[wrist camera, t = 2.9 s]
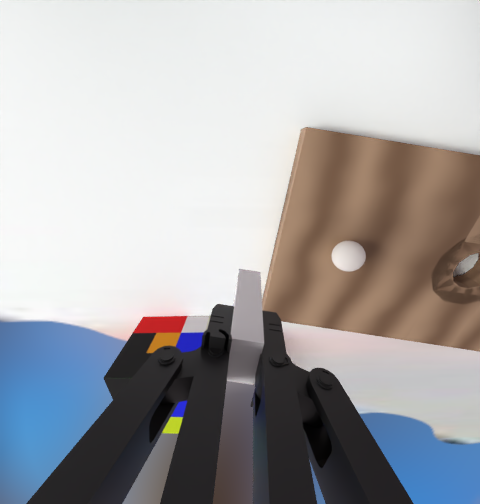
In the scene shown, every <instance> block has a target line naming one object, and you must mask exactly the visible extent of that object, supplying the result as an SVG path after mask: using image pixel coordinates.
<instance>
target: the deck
mask: <svg viewBox="0 0 480 504" xmlns="http://www.w3.org/2000/svg"><path fill="white" fill-rule="evenodd" d="M343 241H354V242H357V243H358V244H360V245H361V246H362V247H363V249H364V251H365V254H366V259H365V262H364V264H363V265H362V266H361V267H360V268H359V269H357V270H355V271H350V272H348V271H343V270H340V269H339V268H337V267H336V266H335V265H334V263H333V261H332V251H333V249H334V247H335V246H336V245H337V244H339V243H340V242H343ZM475 253H479V259H478V261H477V262H476V264H475V265H474V267H473V268H472V269H470V270H469V271H468V272H466V273H465V274H463V275H459V276H455V277H453V271H454V270H455V268H456V267H457V265H458V263H459V262H461V261H462V260H463V259H465V258H466V257H468V256H469V255H472V254H475ZM262 310H263V311H270V312H276V313H277V314H278V316H279V317H280V319H281V321H283V322H290V323H296V324H303V325H309V326H316V327H323V328H329V329H336V330H342V331H349V332H355V333H362V334H369V335H375V336H382V337H388V338H395V339H401V340H408V341H415V342H421V343H428V344H434V345H441V346H447V347H454V348H461V349H467V350H474V351H480V155H473V154H467V153H461V152H455V151H449V150H443V149H437V148H431V147H424V146H418V145H412V144H406V143H400V142H394V141H388V140H382V139H375V138H369V137H363V136H357V135H351V134H345V133H339V132H333V131H326V130H320V129H314V128H308V127H306V128H303V129H301V133H300V137H299V141H298V146H297V150H296V155H295V159H294V163H293V168H292V172H291V177H290V181H289V185H288V190H287V194H286V198H285V203H284V207H283V212H282V216H281V220H280V225H279V229H278V233H277V238H276V242H275V247H274V251H273V255H272V260H271V264H270V268H269V273H268V277H267V282H266V286H265V290H264V295H263V299H262Z"/></svg>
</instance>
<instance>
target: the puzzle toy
mask: <svg viewBox="0 0 480 504" xmlns="http://www.w3.org/2000/svg"><path fill="white" fill-rule="evenodd" d="M209 322H210V316H171V317H143V318H142V320H141V321H140V323H139V324H138V326H137V327H136V329H135V331H134V332H133V334H132V335H131V337H130V338H129V340H128V341H127V343H126V344H125V346H124V347H123V349H122V351H121V352H120V354H119V355H118V357H117V358H116V360H115V361H114V363H113V364H112V366H111V367H110V369H109V370H108V372H107V374H106V375H105V377H104V380H105V382H106V385H107V387H108V389H109V391H110V393H111V396H112V398H113V400H114V399H115V397H116V396H117V395H118V394H119V393H120V392H121V390H122V389H123V388H124V387H125V386H126V384H127V383H128V382H129V381H130V380H131V378H132V377H133V376H134V375H135V374H136V372H137V371H138V370H139V369H140V368H141V366H142V365H143V364H144V363H145V362H146V361H147V359H148V358H149V357H150V356H151V355H152V353H153V352H154V351H156V350H157V349H158V348H160V347H163V346H169V345H170V346H175V347H177V348H178V349H180V351H181V352H189V351H194V350H196V349H198V348H199V347H201V344H202V335H203V333H204V331H206V330H207V329H208V325H209ZM186 404H187V401H182V402H179V403H178V405H177V407H176V408H175V410H174V412H173V414H172V415H171V417H170V419H169V421H168V423H167V424H166V426H165V428H164V430H163V432H162V433H177V434H179V430H180V426H181V423H182V419H183V415H184V411H185V407H186Z"/></svg>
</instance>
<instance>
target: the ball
mask: <svg viewBox="0 0 480 504" xmlns="http://www.w3.org/2000/svg"><path fill="white" fill-rule="evenodd" d="M365 259H366V254H365V251H364V249H363V247H362V246H361V245H360V244H358V243H357V242H354V241H343V242H340V243H339V244H337V245H336V246H335V247H334V249H333V251H332V261H333V263H334V265H335V266H336V267H337V268H339V269H340V270H343V271H348V272H350V271H355V270H357V269H359V268H360V267H361V266H362V265H363V264H364V262H365Z"/></svg>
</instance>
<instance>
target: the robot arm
mask: <svg viewBox="0 0 480 504" xmlns="http://www.w3.org/2000/svg"><path fill="white" fill-rule="evenodd" d="M227 381H232V382H238V383H245V384H251V385H254V381H255V391H254V395H253V398H252V402H251V407H253V504H317V501H316V495H315V490H314V484H313V478H312V473H311V467H310V462H311V464H312V467H313V470H314V472H315V475H316V478H317V481H318V483H319V486H320V489H321V492H322V494H323V497H324V500H325V503H326V504H413V502H412V500H411V499H410V497H409V495H408V494H407V492H406V490H405V489H404V487H403V486H402V484H401V483H400V481H399V479H398V477H397V476H396V474H395V473H394V471H393V469H392V467H391V466H390V464H389V463H388V461H387V459H386V458H385V456H384V454H383V453H382V451H381V449H380V448H379V446H378V445H377V443H376V441H375V439H374V438H373V436H372V435H371V433H370V431H369V430H368V428H367V427H366V425H365V423H364V421H363V420H362V418H361V417H360V415H359V413H358V412H357V410H356V408H355V407H354V405H353V403H352V402H351V400H350V398H349V397H348V395H347V394H346V392H345V390H344V389H343V387H342V385H341V384H340V382H339V380H338V379H337V378H336V377H335V375H334V374H332V373H331V372H330V371H328V370H326V369H323V368H315V369H312V370H311V372H308V371H306V370H304V369H301V368H299V367H298V366H296V365H295V364H293V363H292V362H291V359H290V357H289V356H288V355H287V354H286V349H285V342H284V336H283V330H282V324H281V319H280V317H279V316H278V314H277V313H276V312H270V311H263V310H262V295H261V277H260V272H256V271H250V270H243V269H239V273H238V279H237V285H236V291H235V297H234V304H233V306H228V305H221V304H217V305H216V306H215V307H214V308H213V310H212V314H211V317H210V322H209V325H208V329H207V330H206V331H204V333H203V335H202V344H201V347H199V348H198V349H196V350H194V351H189V352H181V351H180V349H178V348H177V347H175V346H170V345H169V346H163V347H160V348H158V349H157V350H156V351H154V352H153V353H152V355H151V356H150V357H149V358H148V359H147V361H146V362H145V363H144V364H143V365H142V366H141V368H140V369H139V370H138V371H137V372H136V374H135V375H134V376H133V377H132V378H131V380H130V381H129V382H128V383H127V384H126V386H125V387H124V388H123V389H122V390H121V392H120V393H119V394H118V395H117V396H116V397H115V399H114V400H113V401H112V402H111V404H110V405H109V406H108V407H107V408H106V409H105V411H104V412H103V413H102V414H101V416H100V417H99V418H98V419H97V420H96V421H95V423H94V424H93V425H92V426H91V427H90V429H89V430H88V431H87V432H86V433H85V434H84V436H83V437H82V438H81V439H80V440H79V442H78V443H77V444H76V445H75V446H74V448H73V449H72V450H71V451H70V453H68V455H67V456H66V457H65V458H64V459H63V461H62V462H61V463H60V464H59V465H58V467H57V468H56V469H55V470H54V471H53V473H52V474H51V475H50V476H49V477H48V479H47V480H46V481H45V482H44V483H43V485H42V486H41V487H40V488H39V489H38V491H37V492H36V493H35V494H34V495H33V496H32V498H31V499H30V500H29V501H28V503H27V504H122V503H123V501H124V499H125V498H126V496H127V494H128V492H129V490H130V489H131V487H132V485H133V483H134V482H135V480H136V478H137V476H138V474H139V473H140V471H141V469H142V467H143V466H144V464H145V462H146V460H147V458H148V456H149V455H150V453H151V451H152V449H153V447H154V446H155V444H156V442H157V441H158V439H159V437H160V435H161V433H162V432H163V430H164V428H165V426H166V424H167V423H168V421H169V419H170V417H171V415H172V414H173V412H174V410H175V408H176V407H177V405H178V403H179V402H182V401H187V404H186V407H185V411H184V415H183V419H182V423H181V426H180V430H179V434H178V438H177V442H176V445H175V450H174V453H173V457H172V461H171V464H170V468H169V473H168V476H167V480H166V484H165V487H164V491H163V495H162V499H161V503H160V504H212V503H213V494H214V486H215V477H216V469H217V460H218V451H219V442H220V434H221V425H222V416H223V408H224V399H225V390H226V382H227ZM309 459H310V462H309Z"/></svg>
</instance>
